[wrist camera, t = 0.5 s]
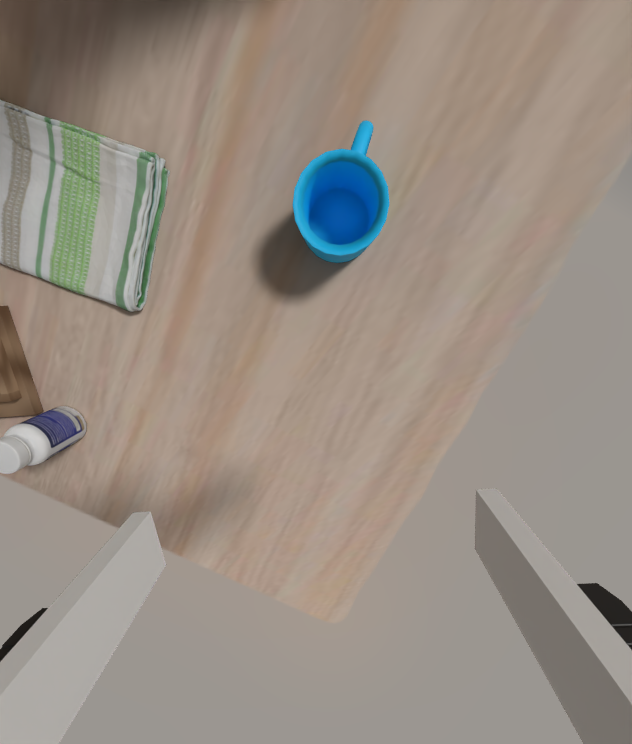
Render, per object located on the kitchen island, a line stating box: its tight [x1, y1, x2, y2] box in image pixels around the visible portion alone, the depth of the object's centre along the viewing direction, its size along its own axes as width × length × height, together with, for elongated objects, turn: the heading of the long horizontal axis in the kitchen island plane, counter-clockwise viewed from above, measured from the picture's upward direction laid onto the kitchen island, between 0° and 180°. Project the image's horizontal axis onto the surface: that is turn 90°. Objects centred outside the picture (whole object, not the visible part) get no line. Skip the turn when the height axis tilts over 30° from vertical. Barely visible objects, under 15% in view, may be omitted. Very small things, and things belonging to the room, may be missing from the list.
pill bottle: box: [0, 406, 86, 474], centre depth 38 cm, size 5×5×9 cm
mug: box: [293, 121, 389, 263], centre depth 30 cm, size 12×8×8 cm
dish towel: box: [0, 100, 170, 312], centre depth 34 cm, size 17×23×4 cm
